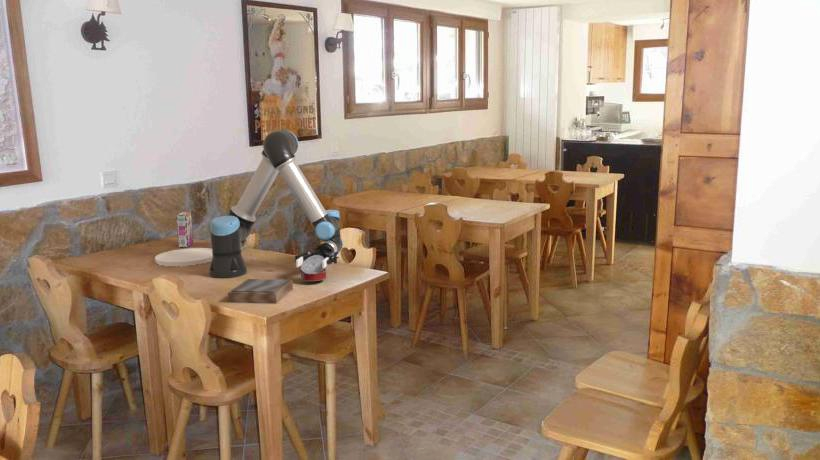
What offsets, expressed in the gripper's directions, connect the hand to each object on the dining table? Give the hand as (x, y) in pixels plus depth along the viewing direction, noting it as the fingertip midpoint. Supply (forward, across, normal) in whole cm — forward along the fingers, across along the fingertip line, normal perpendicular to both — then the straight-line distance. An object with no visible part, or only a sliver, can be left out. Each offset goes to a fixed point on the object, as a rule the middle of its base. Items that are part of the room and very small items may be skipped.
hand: (310, 264), depth 265 cm
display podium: (+16, +14, -8) cm, 23 cm away
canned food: (-4, 0, -7) cm, 8 cm away
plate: (-38, +70, -9) cm, 81 cm away
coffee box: (-59, +55, -9) cm, 81 cm away
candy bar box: (-66, +85, -9) cm, 108 cm away
